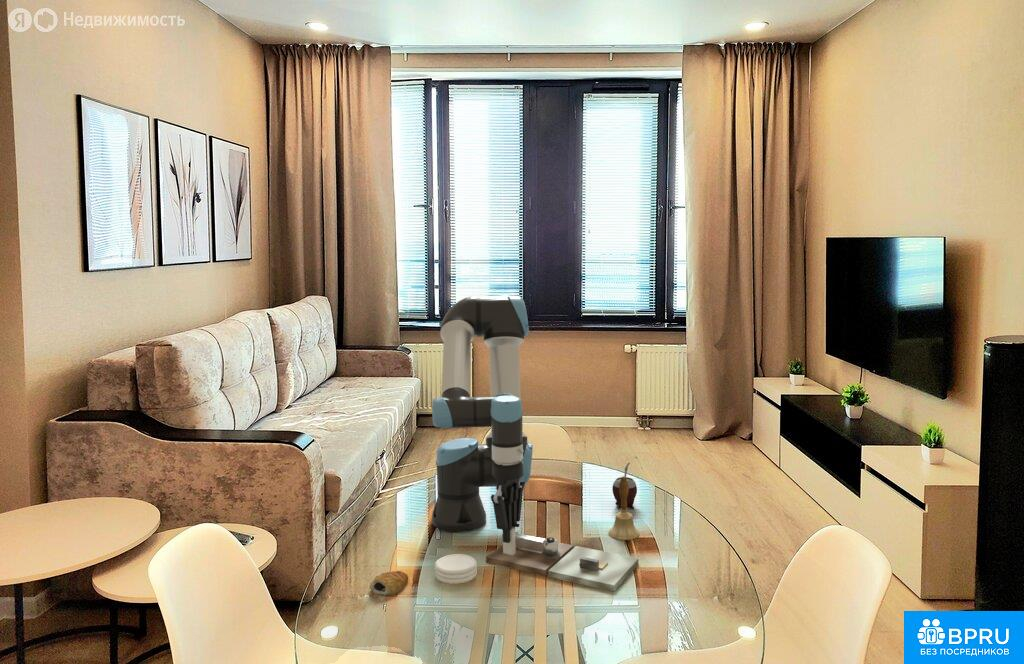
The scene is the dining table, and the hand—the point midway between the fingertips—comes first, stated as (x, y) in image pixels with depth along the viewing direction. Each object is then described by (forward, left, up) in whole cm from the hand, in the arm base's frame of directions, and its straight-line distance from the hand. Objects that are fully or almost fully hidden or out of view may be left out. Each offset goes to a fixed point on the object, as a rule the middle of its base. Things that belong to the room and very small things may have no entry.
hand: (509, 552), depth 200 cm
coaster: (-9, -10, -4) cm, 14 cm away
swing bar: (+3, +7, -1) cm, 7 cm away
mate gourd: (+11, +49, -3) cm, 51 cm away
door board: (+11, +7, -3) cm, 13 cm away
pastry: (-19, -23, -4) cm, 30 cm away
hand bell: (+18, +31, -3) cm, 36 cm away
